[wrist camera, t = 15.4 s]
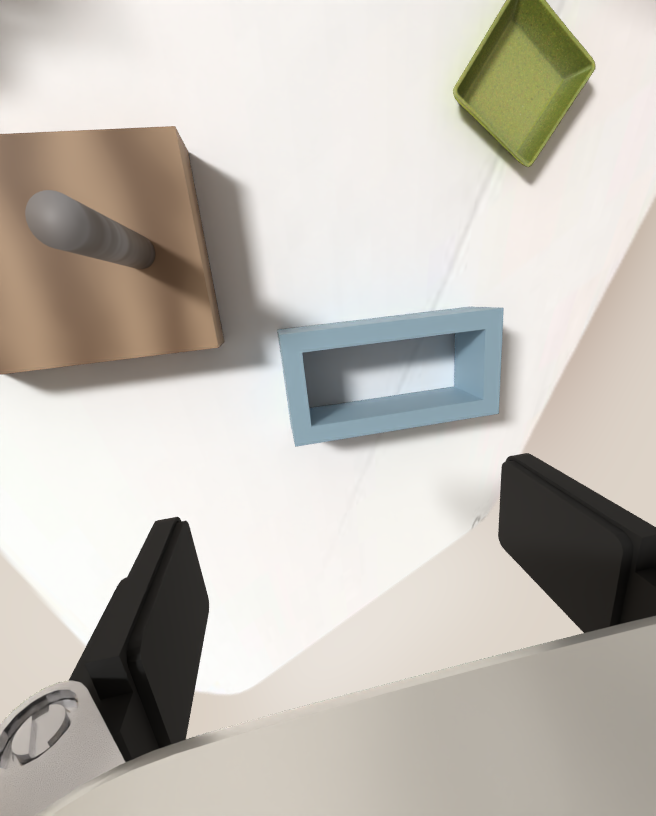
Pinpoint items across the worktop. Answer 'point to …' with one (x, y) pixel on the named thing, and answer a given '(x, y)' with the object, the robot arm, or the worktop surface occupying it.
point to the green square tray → (524, 77)
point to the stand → (101, 249)
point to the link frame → (352, 419)
